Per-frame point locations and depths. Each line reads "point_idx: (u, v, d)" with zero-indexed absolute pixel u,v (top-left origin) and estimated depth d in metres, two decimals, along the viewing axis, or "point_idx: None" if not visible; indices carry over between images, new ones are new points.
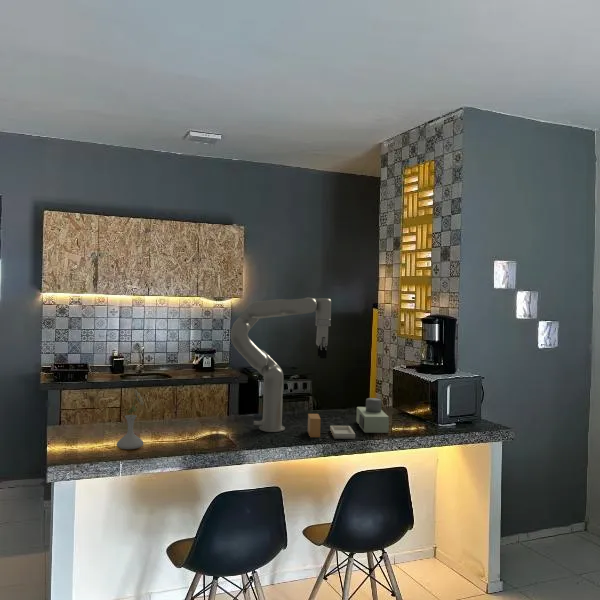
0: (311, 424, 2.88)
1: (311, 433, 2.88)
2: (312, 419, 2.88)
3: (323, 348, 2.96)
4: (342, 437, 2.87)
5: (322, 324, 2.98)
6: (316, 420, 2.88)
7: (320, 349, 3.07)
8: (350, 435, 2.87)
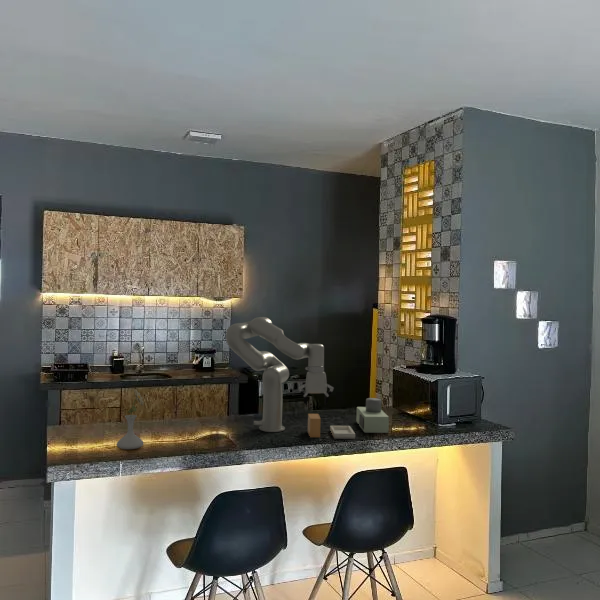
0: (311, 424, 2.88)
1: (311, 433, 2.88)
2: (312, 419, 2.88)
3: None
4: (342, 437, 2.87)
5: (323, 370, 2.93)
6: (316, 420, 2.88)
7: (306, 397, 2.93)
8: (350, 435, 2.87)
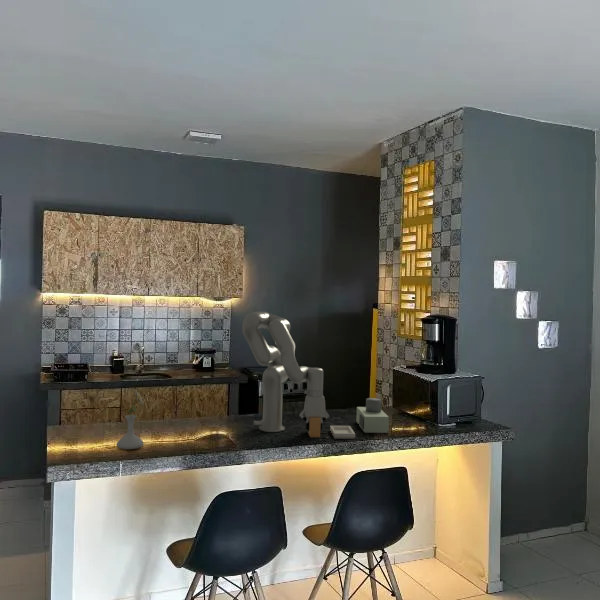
0: (311, 424, 2.88)
1: (311, 433, 2.88)
2: (312, 419, 2.88)
3: None
4: (342, 437, 2.87)
5: (322, 394, 2.93)
6: (316, 420, 2.88)
7: None
8: (350, 435, 2.87)
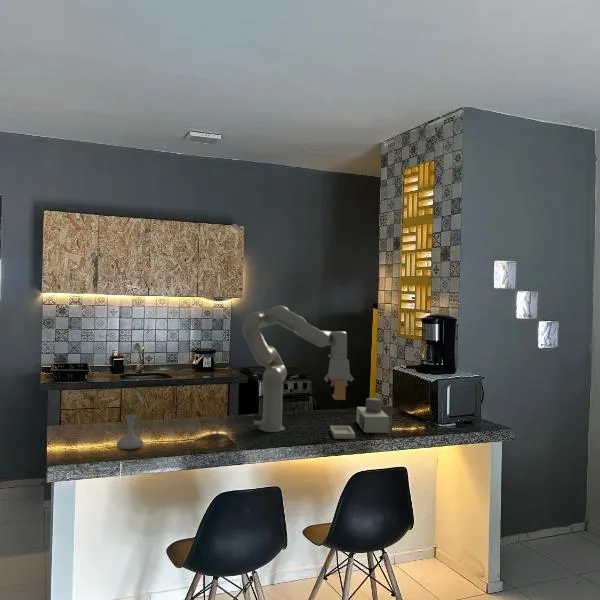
0: (336, 386, 2.89)
1: (336, 395, 2.89)
2: (337, 382, 2.89)
3: None
4: (342, 437, 2.87)
5: (346, 358, 2.94)
6: (341, 382, 2.89)
7: None
8: (350, 435, 2.87)
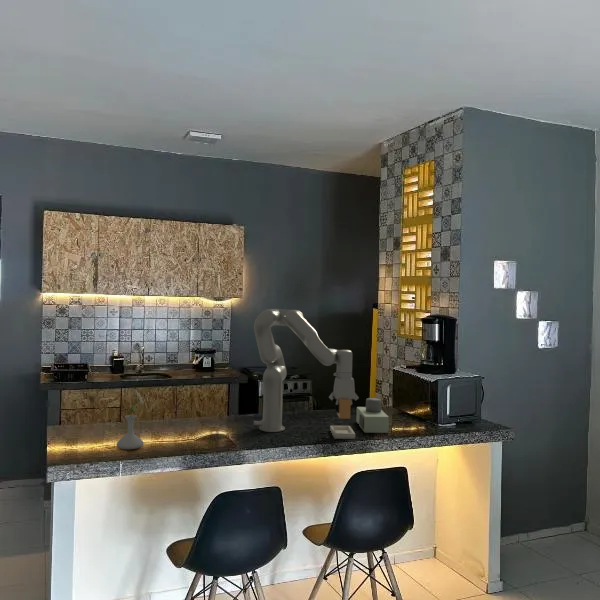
0: (341, 405, 2.89)
1: (341, 414, 2.89)
2: (342, 400, 2.89)
3: None
4: (342, 437, 2.87)
5: (351, 376, 2.94)
6: (346, 401, 2.89)
7: (338, 405, 2.94)
8: (350, 435, 2.87)
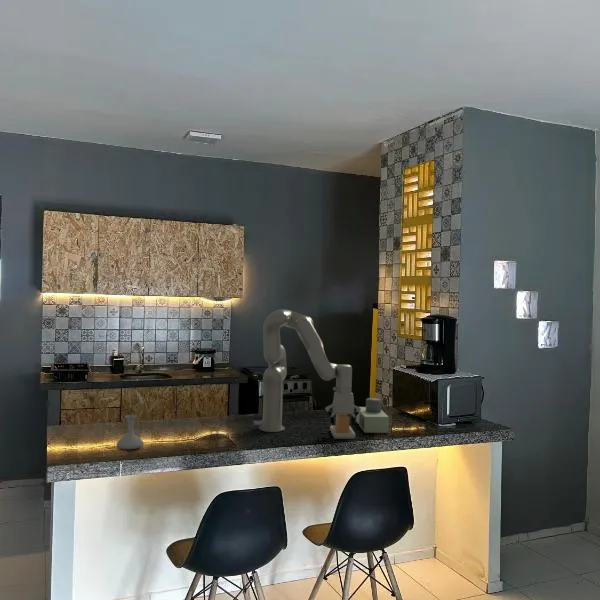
0: (340, 422, 2.89)
1: (340, 431, 2.89)
2: (341, 418, 2.89)
3: None
4: (342, 437, 2.87)
5: None
6: (345, 419, 2.90)
7: (333, 418, 2.94)
8: (350, 435, 2.87)
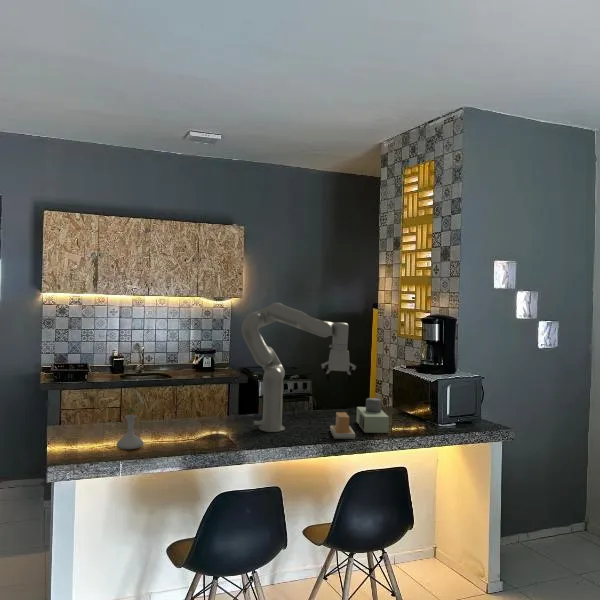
0: (340, 422, 2.89)
1: (340, 431, 2.89)
2: (341, 418, 2.89)
3: None
4: (342, 437, 2.87)
5: None
6: (345, 419, 2.90)
7: None
8: (350, 435, 2.87)
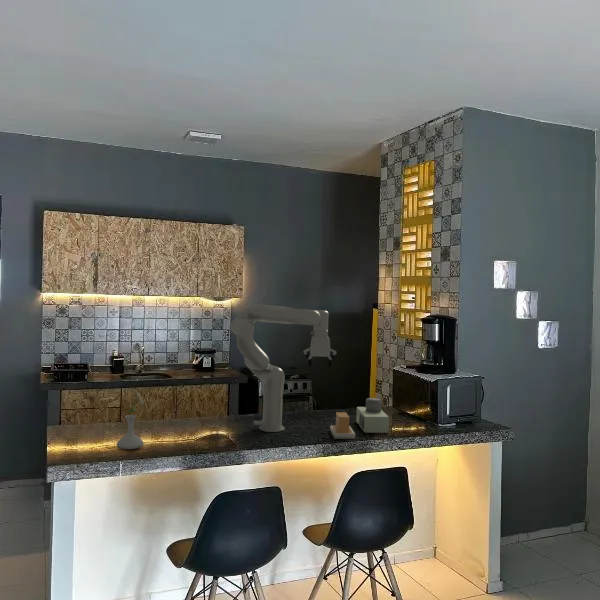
0: (340, 422, 2.89)
1: (340, 431, 2.89)
2: (341, 418, 2.89)
3: None
4: (342, 437, 2.87)
5: (327, 335, 3.12)
6: (345, 419, 2.90)
7: (311, 360, 3.12)
8: (350, 435, 2.87)
